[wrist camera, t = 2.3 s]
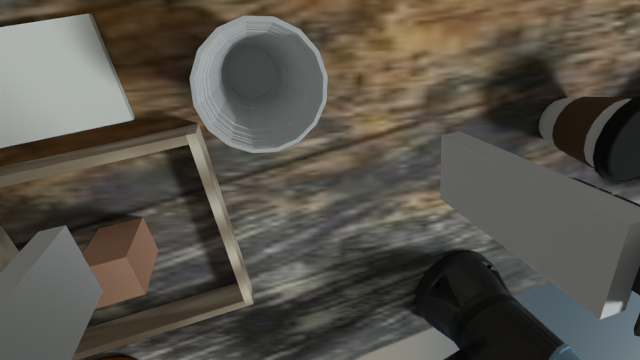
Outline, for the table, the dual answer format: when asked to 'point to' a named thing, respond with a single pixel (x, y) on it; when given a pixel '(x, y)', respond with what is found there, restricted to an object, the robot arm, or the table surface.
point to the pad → (57, 80)
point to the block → (122, 260)
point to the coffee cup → (597, 133)
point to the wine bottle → (118, 358)
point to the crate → (162, 316)
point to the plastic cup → (258, 84)
